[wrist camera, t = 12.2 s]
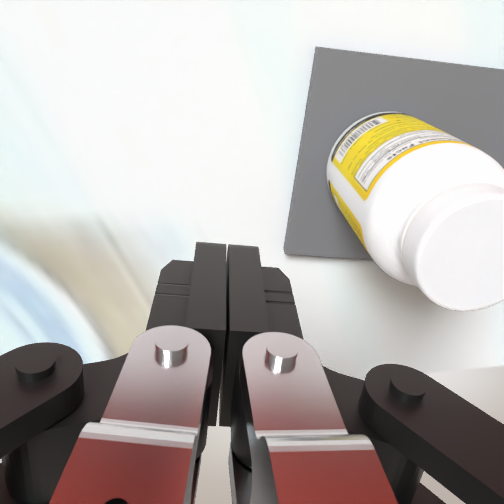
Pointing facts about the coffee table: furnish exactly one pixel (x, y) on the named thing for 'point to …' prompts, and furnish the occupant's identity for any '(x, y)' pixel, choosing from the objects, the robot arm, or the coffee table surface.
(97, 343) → the coffee table surface
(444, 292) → the supplement bottle
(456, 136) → the rubber mat
